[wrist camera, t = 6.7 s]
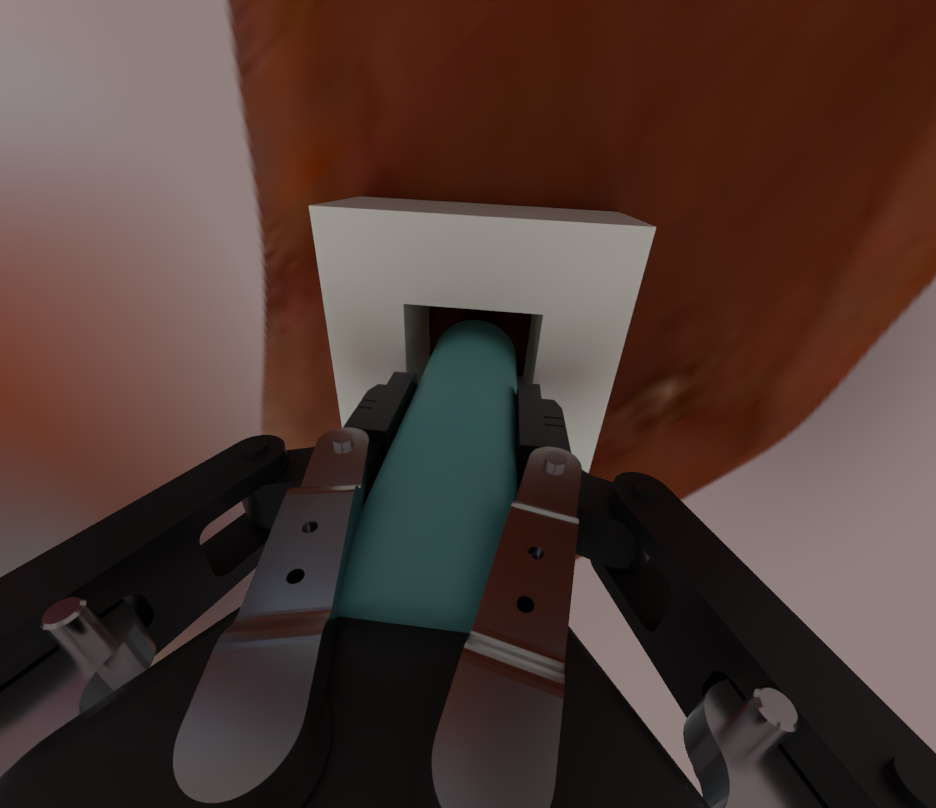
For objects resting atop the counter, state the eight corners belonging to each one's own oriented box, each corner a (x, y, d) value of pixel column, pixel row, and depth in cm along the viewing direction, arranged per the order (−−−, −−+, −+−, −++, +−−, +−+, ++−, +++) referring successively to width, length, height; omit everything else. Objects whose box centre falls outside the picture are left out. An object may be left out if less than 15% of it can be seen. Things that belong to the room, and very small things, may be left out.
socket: (360, 196, 17) (308, 205, 13) (618, 212, 16) (656, 227, 12) (383, 463, 25) (356, 524, 20) (558, 481, 24) (567, 548, 20)
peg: (434, 316, 16) (285, 587, 5) (520, 323, 15) (534, 618, 5) (434, 391, 18) (323, 700, 7) (511, 398, 17) (508, 726, 7)
